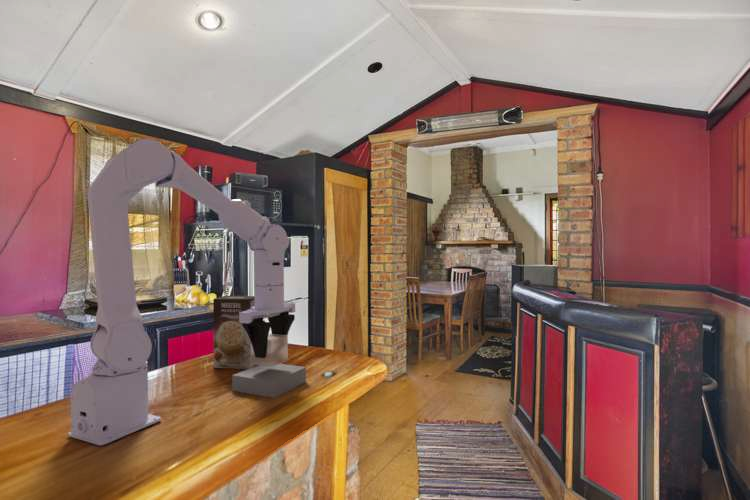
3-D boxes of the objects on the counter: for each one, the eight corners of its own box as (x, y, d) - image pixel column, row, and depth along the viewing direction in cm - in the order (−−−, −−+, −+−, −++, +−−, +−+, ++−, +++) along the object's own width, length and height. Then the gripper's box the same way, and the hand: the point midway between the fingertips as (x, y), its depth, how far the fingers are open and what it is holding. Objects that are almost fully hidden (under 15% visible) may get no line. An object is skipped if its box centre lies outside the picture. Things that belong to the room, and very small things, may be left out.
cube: (271, 366, 77) (271, 340, 77) (251, 363, 80) (250, 338, 80) (287, 360, 82) (287, 335, 82) (268, 357, 84) (267, 333, 84)
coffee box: (211, 368, 93) (211, 298, 93) (224, 361, 100) (224, 295, 100) (250, 369, 92) (249, 298, 92) (261, 361, 99) (260, 295, 99)
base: (274, 398, 74) (274, 381, 74) (232, 390, 78) (232, 375, 78) (305, 381, 83) (305, 367, 83) (266, 376, 87) (266, 361, 87)
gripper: (276, 281, 89) (276, 344, 89) (226, 287, 76) (227, 360, 76) (303, 282, 86) (303, 346, 86) (256, 288, 73) (257, 365, 73)
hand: (269, 353), depth 81 cm, fingers closed on cube, 5 cm apart
